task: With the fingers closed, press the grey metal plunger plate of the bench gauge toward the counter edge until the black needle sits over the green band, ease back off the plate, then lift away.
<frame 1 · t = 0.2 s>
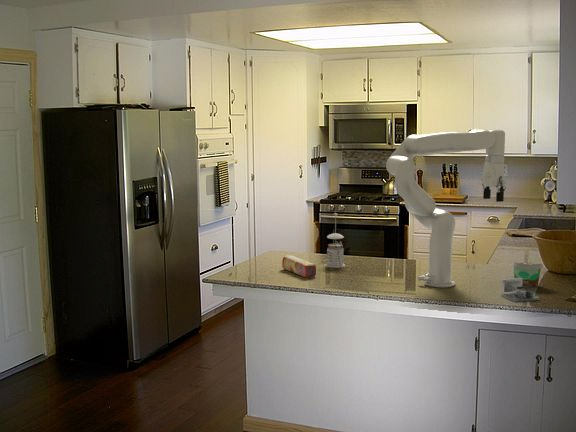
hand: (493, 200, 301), 35 cm above the countertop, tool pointing down, fingers open, 9 cm apart
gauge body: (519, 297, 279), on the countertop
food container: (525, 286, 297), on the countertop
plunger: (519, 287, 280), point 4 cm above the countertop, slide at 0.0 cm
french press: (335, 266, 336), on the countertop
snack package: (299, 274, 321), on the countertop
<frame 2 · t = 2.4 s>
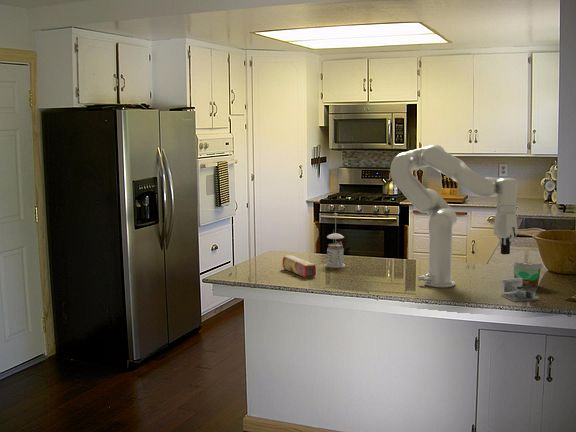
hand: (505, 253, 288), 15 cm above the countertop, tool pointing down, fingers closed
nothing on the countertop moved.
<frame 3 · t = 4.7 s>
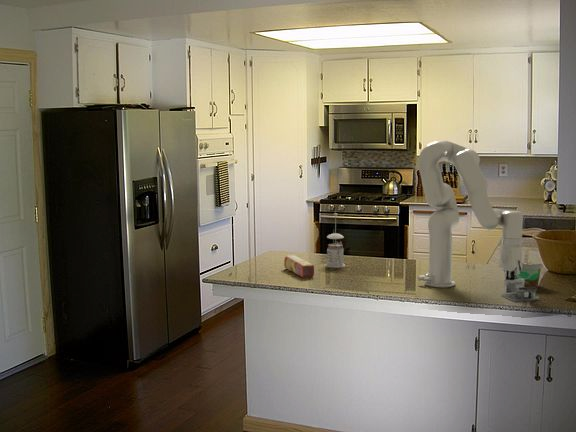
hand: (509, 286, 285), 3 cm above the countertop, tool pointing down, fingers closed
plunger: (521, 287, 279), point 4 cm above the countertop, slide at 1.4 cm, touching gripper
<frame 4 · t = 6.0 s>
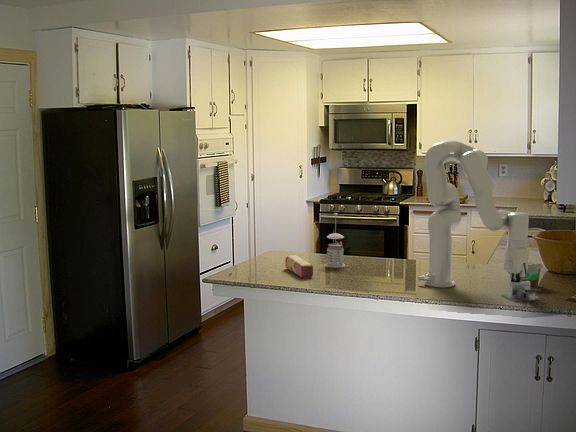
hand: (515, 289, 282), 3 cm above the countertop, tool pointing down, fingers closed
plunger: (527, 290, 275), point 4 cm above the countertop, slide at 5.3 cm, touching gripper
everything else where it was.
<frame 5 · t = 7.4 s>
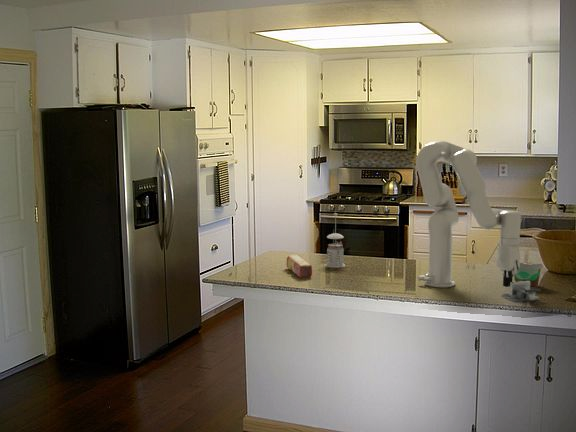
hand: (507, 286, 287), 3 cm above the countertop, tool pointing down, fingers closed
plunger: (527, 290, 275), point 4 cm above the countertop, slide at 5.3 cm
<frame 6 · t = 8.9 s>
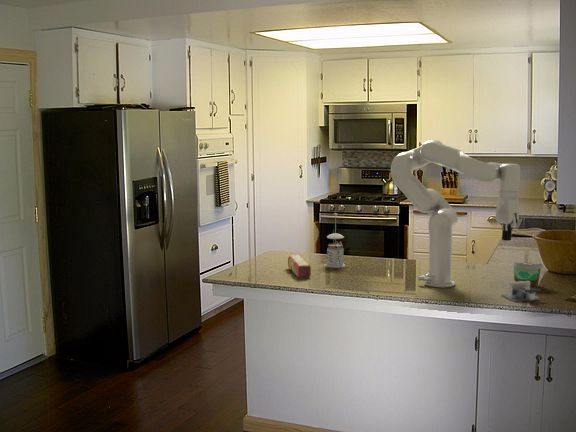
hand: (506, 240, 286), 21 cm above the countertop, tool pointing down, fingers closed
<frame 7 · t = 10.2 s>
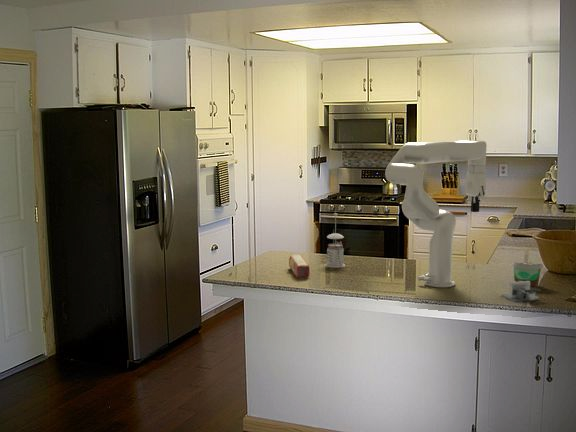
hand: (474, 211, 309), 29 cm above the countertop, tool pointing down, fingers closed
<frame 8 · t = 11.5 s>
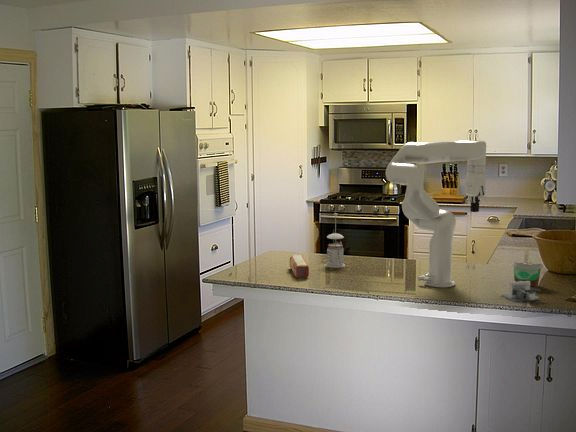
hand: (474, 211, 309), 29 cm above the countertop, tool pointing down, fingers closed
at the end: plunger slide at 5.3 cm; food container moved 0.2 cm from its start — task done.
